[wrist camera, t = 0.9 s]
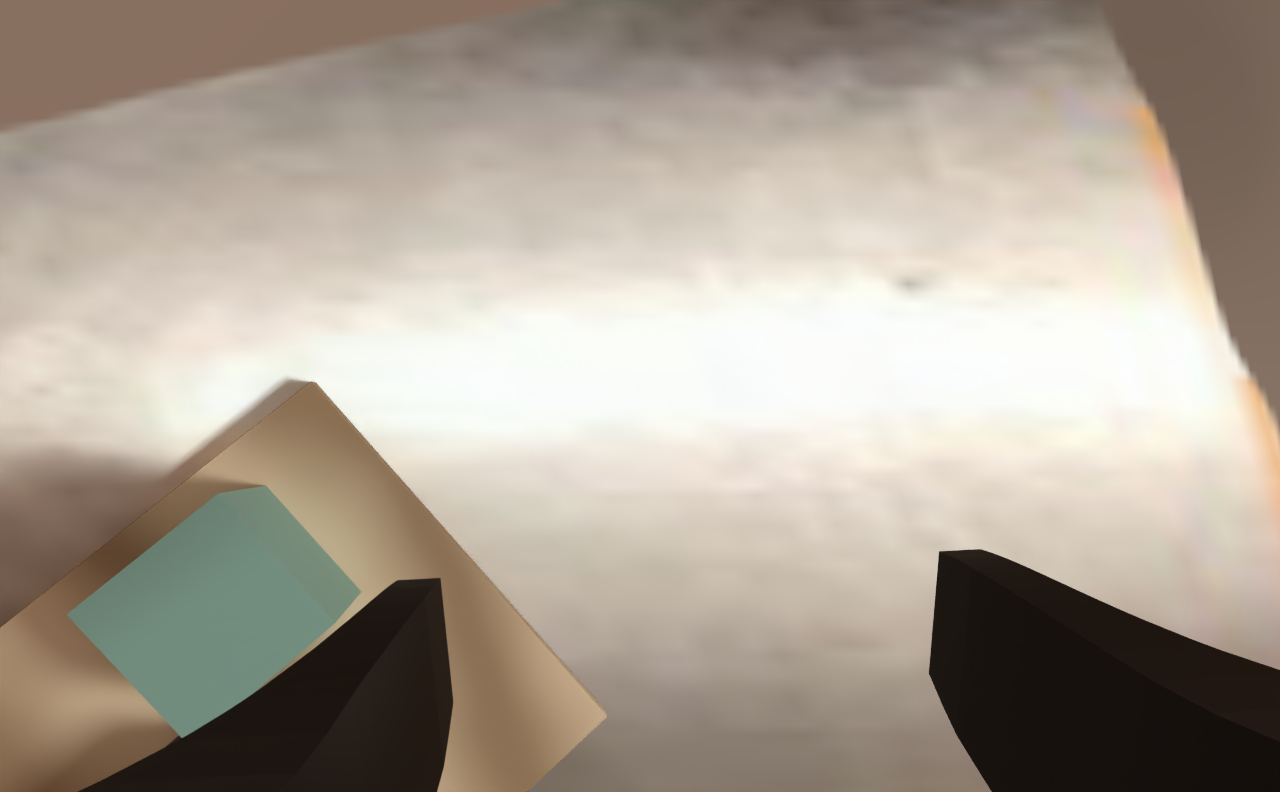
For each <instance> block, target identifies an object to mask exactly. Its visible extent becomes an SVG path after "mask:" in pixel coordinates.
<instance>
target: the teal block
mask: <svg viewBox="0 0 1280 792" xmlns="http://www.w3.org/2000/svg"><path fill="white" fill-rule="evenodd" d="M360 593H361V591H360V590H359V588H358V587H357V586H356V585H355V584H354V583H353V582H352V581H351V580H350V578H349V577H348V576H347V575H346V574H345V573H344V572H343V571H342V570H341V568H340V567H339V566H338V565H337V564H336V563H335V562H334V561H333V559H332V558H331V557H330V556H329V555H328V554H327V553H326V552H325V551H324V549H323V548H322V547H321V546H320V545H319V544H318V543H317V542H316V541H315V539H314V538H313V537H312V536H311V535H310V534H309V533H308V532H307V531H306V529H305V528H304V527H303V526H302V525H301V524H300V523H299V522H298V520H297V519H296V518H295V517H294V516H293V515H292V514H291V513H290V512H289V510H288V509H287V508H286V507H285V506H284V505H283V504H282V503H281V502H280V500H279V499H278V498H277V497H276V496H275V495H274V494H273V493H272V492H271V490H270V489H269V488H268V487H267V486H261V487H255V488H249V489H243V490H237V491H231V492H225V493H219V494H217V495H216V496H214V497H213V498H212V499H211V500H209V501H208V502H207V503H205V504H204V505H203V506H202V507H200V508H199V509H198V510H197V511H195V512H194V513H193V514H192V515H190V516H189V517H188V518H187V519H185V520H184V521H183V522H182V523H180V524H179V525H178V526H177V527H175V528H174V529H173V530H172V531H170V532H169V533H168V534H167V535H165V536H164V537H163V538H162V539H160V540H159V541H158V542H157V543H155V544H154V545H153V546H152V547H150V548H149V549H148V550H147V551H145V552H144V553H143V554H142V555H140V556H139V557H138V558H137V559H135V560H134V561H133V562H132V563H130V564H129V565H128V566H127V567H125V568H124V569H123V570H122V571H120V572H119V573H118V574H117V575H115V576H114V577H113V578H112V579H110V580H109V581H108V582H107V583H105V584H104V585H103V586H102V587H100V588H99V589H98V590H97V591H95V592H94V593H93V594H92V595H90V596H89V597H88V598H87V599H85V600H84V601H83V602H82V603H80V604H79V605H78V606H76V607H75V608H74V609H73V610H71V611H70V612H69V613H68V614H66V615H67V616H68V617H69V618H70V619H71V620H72V621H73V622H74V623H75V624H76V625H77V626H78V628H79V629H80V630H81V631H82V632H83V633H84V634H85V635H86V636H87V637H88V638H89V639H90V640H91V641H92V643H93V644H94V645H95V646H96V647H97V648H98V649H99V650H100V651H101V652H102V653H103V654H104V655H105V656H106V657H107V659H108V660H109V661H110V662H111V663H112V664H113V665H114V666H115V667H116V668H117V669H118V670H119V671H120V672H121V674H122V675H123V676H124V677H125V678H126V679H127V680H128V681H129V682H130V683H131V684H132V685H133V686H134V687H135V689H136V690H137V691H138V692H139V693H140V694H141V695H142V696H143V697H144V698H145V699H146V700H147V701H148V702H149V704H150V705H151V706H152V707H153V708H154V709H155V710H156V711H157V712H158V713H159V714H160V715H161V716H162V717H163V718H164V720H165V721H166V722H167V723H168V724H169V725H170V726H171V727H172V728H173V729H174V730H175V731H176V732H177V733H178V735H179V736H180V737H181V738H183V737H185V736H187V735H188V734H190V733H192V732H193V731H195V730H197V729H198V728H200V727H202V726H203V725H205V724H206V723H208V722H210V721H211V720H213V719H215V718H216V717H218V716H220V715H221V714H223V713H224V712H226V711H228V710H229V709H231V708H232V707H234V706H235V705H237V704H238V703H240V702H241V701H243V700H244V699H246V698H247V697H249V696H250V695H252V694H253V693H254V692H255V691H257V690H258V689H259V688H260V687H261V686H262V685H264V684H265V683H266V682H267V681H268V680H269V679H271V678H272V677H273V676H274V675H275V674H276V673H278V672H279V671H280V670H281V669H282V668H283V667H285V666H286V665H287V664H288V663H289V662H290V661H292V660H293V659H294V658H295V657H296V656H297V655H299V654H300V653H301V652H302V651H303V650H304V649H306V648H307V647H308V646H309V645H310V644H311V643H312V642H314V641H315V640H316V639H317V638H318V637H319V636H321V635H322V634H323V633H324V632H325V631H326V630H328V629H329V628H330V627H331V626H332V625H333V624H335V623H336V621H337V620H338V619H339V618H340V617H341V616H342V614H343V613H344V612H345V611H346V610H347V608H348V607H349V606H350V605H351V604H352V603H353V601H354V600H355V599H356V598H357V597H358V596H359V594H360Z"/></svg>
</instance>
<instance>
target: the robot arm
mask: <svg viewBox="0 0 1280 792" xmlns="http://www.w3.org/2000/svg"><path fill="white" fill-rule="evenodd" d="M929 675H930V677H931V679H932V682H933V684H934V686H935V689H936V691H937V693H938V696H939V698H940V700H941V703H942V705H943V707H944V709H945V711H946V714H947V716H948V718H949V720H950V722H951V724H952V726H953V728H954V730H955V733H956V735H957V736H958V738H959V740H960V741H961V743H962V745H963V746H964V748H965V749H966V751H967V753H968V754H969V756H970V758H971V759H972V761H973V762H974V764H975V766H976V767H977V769H978V770H979V772H980V774H981V775H982V777H983V778H984V780H985V782H986V783H987V785H988V786H989V788H990V790H991V791H992V792H1280V670H1278V669H1275V668H1272V667H1269V666H1266V665H1263V664H1260V663H1257V662H1254V661H1251V660H1248V659H1245V658H1242V657H1239V656H1236V655H1233V654H1230V653H1227V652H1224V651H1221V650H1219V649H1216V648H1213V647H1211V646H1208V645H1205V644H1202V643H1200V642H1197V641H1195V640H1192V639H1189V638H1187V637H1184V636H1182V635H1180V634H1177V633H1175V632H1172V631H1170V630H1167V629H1165V628H1162V627H1160V626H1157V625H1155V624H1152V623H1150V622H1147V621H1145V620H1143V619H1140V618H1138V617H1136V616H1133V615H1131V614H1129V613H1126V612H1124V611H1122V610H1120V609H1117V608H1115V607H1113V606H1111V605H1108V604H1106V603H1104V602H1102V601H1099V600H1097V599H1095V598H1093V597H1091V596H1088V595H1086V594H1084V593H1082V592H1080V591H1077V590H1075V589H1073V588H1071V587H1069V586H1067V585H1064V584H1062V583H1060V582H1058V581H1056V580H1054V579H1051V578H1049V577H1047V576H1045V575H1043V574H1041V573H1038V572H1036V571H1034V570H1032V569H1030V568H1027V567H1025V566H1023V565H1020V564H1018V563H1016V562H1013V561H1011V560H1009V559H1006V558H1004V557H1001V556H999V555H996V554H993V553H990V552H987V551H984V550H981V549H977V550H959V551H940V552H939V561H938V573H937V584H936V596H935V608H934V620H933V632H932V644H931V656H930V667H929ZM452 709H453V693H452V683H451V674H450V664H449V654H448V645H447V635H446V625H445V616H444V606H443V597H442V587H441V578H428V579H409V580H397V581H395V582H394V583H392V584H391V585H390V586H388V587H387V588H386V589H385V590H383V591H382V592H381V593H380V594H379V595H377V596H376V597H375V598H374V599H373V600H371V601H370V602H369V603H368V604H367V605H366V606H364V607H363V608H362V609H361V610H360V611H358V612H357V613H356V614H355V615H354V616H353V617H351V618H350V619H349V620H348V621H347V622H345V623H344V624H343V625H342V626H341V627H339V628H338V629H337V630H336V631H335V632H333V633H332V634H331V635H330V636H328V637H327V638H326V639H325V640H324V641H322V642H321V643H320V644H319V645H318V646H316V647H315V648H314V649H313V650H311V651H310V652H309V653H307V654H306V655H305V656H303V657H302V658H301V659H299V660H298V661H297V662H295V663H294V664H293V665H291V666H290V667H289V668H287V669H286V670H285V671H283V672H282V673H281V674H279V675H278V676H277V677H275V678H274V679H272V680H271V681H270V682H268V683H267V684H266V685H264V686H263V687H262V688H260V689H259V690H258V691H256V692H255V693H253V694H252V695H250V696H249V697H247V698H246V699H244V700H243V701H241V702H240V703H238V704H237V705H235V706H234V707H232V708H231V709H229V710H228V711H226V712H224V713H223V714H221V715H220V716H218V717H216V718H215V719H213V720H211V721H210V722H208V723H206V724H205V725H203V726H202V727H200V728H198V729H197V730H195V731H193V732H192V733H190V734H188V735H187V736H185V737H183V738H181V739H180V740H178V741H176V742H174V743H172V744H170V745H168V746H166V747H165V748H163V749H161V750H159V751H157V752H155V753H153V754H151V755H149V756H147V757H145V758H143V759H142V760H140V761H138V762H136V763H134V764H132V765H130V766H128V767H126V768H124V769H122V770H120V771H119V772H117V773H115V774H113V775H111V776H109V777H107V778H105V779H103V780H101V781H99V782H97V783H95V784H93V785H91V786H88V787H86V788H84V789H82V790H80V791H77V792H437V790H438V787H439V783H440V780H441V776H442V772H443V768H444V763H445V757H446V750H447V744H448V738H449V731H450V724H451V716H452Z"/></svg>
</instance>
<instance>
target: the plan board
mask: <svg viewBox="0 0 1280 792" xmlns="http://www.w3.org/2000/svg"><path fill="white" fill-rule="evenodd" d="M261 486H267V487H268V488H269V489H270V490H271V492H272V493H273V494H274V495H275V496H276V497H277V498H278V499H279V500H280V502H281V503H282V504H283V505H284V506H285V507H286V508H287V509H288V510H289V512H290V513H291V514H292V515H293V516H294V517H295V518H296V519H297V520H298V522H299V523H300V524H301V525H302V526H303V527H304V528H305V529H306V531H307V532H308V533H309V534H310V535H311V536H312V537H313V538H314V539H315V541H316V542H317V543H318V544H319V545H320V546H321V547H322V548H323V549H324V551H325V552H326V553H327V554H328V555H329V556H330V557H331V558H332V559H333V561H334V562H335V563H336V564H337V565H338V566H339V567H340V568H341V570H342V571H343V572H344V573H345V574H346V575H347V576H348V577H349V578H350V580H351V581H352V582H353V583H354V584H355V585H356V586H357V587H358V588H359V590H360V591H361V593H360V594H359V596H358V597H357V598H356V599H355V600H354V601H353V603H352V604H351V605H350V606H349V607H348V608H347V610H346V611H345V612H344V613H343V614H342V616H341V617H340V618H339V619H338V620H337V621H336V623H335V624H333V625H332V626H331V627H330V628H329V629H328V630H326V631H325V632H324V633H323V634H322V635H321V636H319V637H318V638H317V639H316V640H315V641H314V642H312V643H311V644H310V645H309V646H308V647H307V648H306V649H304V650H303V651H302V652H301V653H300V654H299V655H297V656H296V657H295V658H294V659H293V660H292V661H290V662H289V663H288V664H287V665H286V666H285V667H283V668H282V669H281V670H280V671H279V672H278V673H276V674H275V675H274V676H273V677H272V678H271V679H269V680H268V681H267V682H266V683H265V684H264V685H266V684H267V683H268V682H270V681H271V680H272V679H274V678H275V677H277V676H278V675H279V674H281V673H282V672H283V671H285V670H286V669H287V668H289V667H290V666H291V665H293V664H294V663H295V662H297V661H298V660H299V659H301V658H302V657H303V656H305V655H306V654H307V653H309V652H310V651H311V650H313V649H314V648H315V647H316V646H318V645H319V644H320V643H321V642H322V641H324V640H325V639H326V638H327V637H328V636H330V635H331V634H332V633H333V632H335V631H336V630H337V629H338V628H339V627H341V626H342V625H343V624H344V623H345V622H347V621H348V620H349V619H350V618H351V617H353V616H354V615H355V614H356V613H357V612H358V611H360V610H361V609H362V608H363V607H364V606H366V605H367V604H368V603H369V602H370V601H371V600H373V599H374V598H375V597H376V596H377V595H379V594H380V593H381V592H382V591H383V590H385V589H386V588H387V587H388V586H390V585H391V584H392V583H394V582H395V581H397V580H409V579H428V578H441V587H442V597H443V606H444V616H445V625H446V635H447V645H448V654H449V664H450V674H451V683H452V693H453V709H452V716H451V724H450V731H449V738H448V744H447V750H446V757H445V763H444V768H443V772H442V776H441V780H440V783H439V787H438V790H437V792H528V791H529V790H530V789H531V788H532V787H533V786H534V785H535V784H536V783H537V782H538V781H539V780H540V779H541V778H542V777H544V776H545V775H546V774H547V773H548V772H549V771H550V770H551V769H552V768H553V767H554V766H555V765H556V764H557V763H558V762H559V761H560V760H561V759H563V758H564V757H565V756H566V755H567V754H568V753H569V752H570V751H571V750H572V749H573V748H574V747H575V746H576V745H577V744H578V743H579V742H581V741H582V740H583V739H584V738H585V737H586V736H587V735H588V734H589V733H590V732H591V731H592V730H593V729H594V728H595V727H596V726H597V725H598V724H600V723H601V722H602V721H603V720H604V719H605V718H606V717H607V715H606V713H605V710H604V709H603V707H602V706H601V705H600V704H599V703H598V702H597V701H596V699H595V698H594V697H593V696H592V695H591V694H590V693H589V692H588V690H587V689H586V688H585V687H584V686H583V685H582V684H581V682H580V681H579V680H578V679H577V678H576V677H575V676H574V675H573V673H572V672H571V671H570V670H569V669H568V668H567V667H566V665H565V664H564V663H563V662H562V661H561V660H560V659H559V658H558V656H557V655H556V654H555V653H554V652H553V651H552V650H551V648H550V647H549V646H548V645H547V644H546V643H545V642H544V641H543V639H542V638H541V637H540V636H539V635H538V634H537V633H536V631H535V630H534V629H533V628H532V627H531V626H530V625H529V624H528V622H527V621H526V620H525V619H524V618H523V617H522V616H521V615H520V613H519V612H518V611H517V610H516V609H515V608H514V607H513V605H512V604H511V603H510V602H509V601H508V600H507V599H506V598H505V596H504V595H503V594H502V593H501V592H500V591H499V590H498V588H497V587H496V586H495V585H494V584H493V583H492V582H491V581H490V579H489V578H488V577H487V576H486V575H485V574H484V573H483V571H482V570H481V569H480V568H479V567H478V566H477V565H476V564H475V562H474V561H473V560H472V559H471V558H470V557H469V556H468V554H467V553H466V552H465V551H464V550H463V549H462V548H461V547H460V545H459V544H458V543H457V542H456V541H455V540H454V539H453V538H452V536H451V535H450V534H449V533H448V532H447V531H446V530H445V528H444V527H443V526H442V525H441V524H440V523H439V522H438V521H437V519H436V518H435V517H434V516H433V515H432V514H431V513H430V511H429V510H428V509H427V508H426V507H425V506H424V505H423V504H422V502H421V501H420V500H419V499H418V498H417V497H416V496H415V494H414V493H413V492H412V491H411V490H410V489H409V488H408V487H407V485H406V484H405V483H404V482H403V481H402V480H401V479H400V477H399V476H398V475H397V474H396V473H395V472H394V471H393V470H392V468H391V467H390V466H389V465H388V464H387V463H386V462H385V461H384V459H383V458H382V457H381V456H380V455H379V454H378V453H377V451H376V450H375V449H374V448H373V447H372V446H371V445H370V444H369V442H368V441H367V440H366V439H365V438H364V437H363V436H362V434H361V433H360V432H359V431H358V430H357V429H356V428H355V427H354V425H353V424H352V423H351V422H350V421H349V420H348V419H347V417H346V416H345V415H344V414H343V413H342V412H341V411H340V410H339V408H338V407H337V406H336V405H335V404H334V403H333V402H332V400H331V399H330V398H329V397H328V396H327V395H326V394H325V393H324V391H323V390H322V389H321V388H320V387H319V386H318V385H317V383H315V382H310V383H309V384H307V385H306V386H305V387H304V388H302V389H301V390H300V391H298V392H297V393H296V394H295V395H293V396H292V397H291V398H290V399H288V400H287V401H286V402H285V403H283V404H282V405H281V406H280V407H278V408H277V409H276V410H274V411H273V412H272V413H271V414H269V415H268V416H267V417H266V418H264V419H263V420H262V421H261V422H259V423H258V424H257V425H256V426H254V427H253V428H252V429H250V430H249V431H248V432H247V433H245V434H244V435H243V436H242V437H240V438H239V439H238V440H237V441H235V442H234V443H233V444H232V445H230V446H229V447H228V448H226V449H225V450H224V451H223V452H221V453H220V454H219V455H218V456H216V457H215V458H214V459H213V460H211V461H210V462H209V463H208V464H206V465H205V466H204V467H202V468H201V469H200V470H199V471H197V472H196V473H195V474H194V475H192V476H191V477H190V478H189V479H187V480H186V481H185V482H184V483H182V484H181V485H180V486H178V487H177V488H176V489H175V490H173V491H172V492H171V493H170V494H168V495H167V496H166V497H165V498H163V499H162V500H161V501H160V502H158V503H157V504H156V505H154V506H153V507H152V508H151V509H149V510H148V511H147V512H146V513H144V514H143V515H142V516H141V517H139V518H138V519H137V520H136V521H134V522H133V523H132V524H130V525H129V526H128V527H127V528H125V529H124V530H123V531H122V532H120V533H119V534H118V535H117V536H115V537H114V538H113V539H112V540H110V541H109V542H108V543H106V544H105V545H104V546H103V547H101V548H100V549H99V550H98V551H96V552H95V553H94V554H93V555H91V556H90V557H89V558H88V559H86V560H85V561H84V562H82V563H81V564H80V565H79V566H77V567H76V568H75V569H74V570H72V571H71V572H70V573H69V574H67V575H66V576H65V577H63V578H62V579H61V580H60V581H58V582H57V583H56V584H55V585H53V586H52V587H51V588H50V589H48V590H47V591H46V592H45V593H43V594H42V595H41V596H39V597H38V598H37V599H36V600H34V601H33V602H32V603H31V604H29V605H28V606H27V607H26V608H24V609H23V610H22V611H21V612H19V613H18V614H17V615H15V616H14V617H13V618H12V619H10V620H9V621H8V622H7V623H5V624H4V625H3V626H2V627H0V792H77V791H80V790H82V789H84V788H86V787H88V786H91V785H93V784H95V783H97V782H99V781H101V780H103V779H105V778H107V777H109V776H111V775H113V774H115V773H117V772H119V771H120V770H122V769H124V768H126V767H128V766H130V765H132V764H134V763H136V762H138V761H140V760H142V759H143V758H145V757H147V756H149V755H151V754H153V753H155V752H157V751H159V750H161V749H163V748H165V747H166V746H168V745H170V744H172V743H174V742H176V741H178V740H180V739H181V737H180V736H179V735H178V733H177V732H176V731H175V730H174V729H173V728H172V727H171V726H170V725H169V724H168V723H167V722H166V721H165V720H164V718H163V717H162V716H161V715H160V714H159V713H158V712H157V711H156V710H155V709H154V708H153V707H152V706H151V705H150V704H149V702H148V701H147V700H146V699H145V698H144V697H143V696H142V695H141V694H140V693H139V692H138V691H137V690H136V689H135V687H134V686H133V685H132V684H131V683H130V682H129V681H128V680H127V679H126V678H125V677H124V676H123V675H122V674H121V672H120V671H119V670H118V669H117V668H116V667H115V666H114V665H113V664H112V663H111V662H110V661H109V660H108V659H107V657H106V656H105V655H104V654H103V653H102V652H101V651H100V650H99V649H98V648H97V647H96V646H95V645H94V644H93V643H92V641H91V640H90V639H89V638H88V637H87V636H86V635H85V634H84V633H83V632H82V631H81V630H80V629H79V628H78V626H77V625H76V624H75V623H74V622H73V621H72V620H71V619H70V618H69V617H68V616H67V615H66V614H68V613H69V612H70V611H71V610H73V609H74V608H75V607H76V606H78V605H79V604H80V603H82V602H83V601H84V600H85V599H87V598H88V597H89V596H90V595H92V594H93V593H94V592H95V591H97V590H98V589H99V588H100V587H102V586H103V585H104V584H105V583H107V582H108V581H109V580H110V579H112V578H113V577H114V576H115V575H117V574H118V573H119V572H120V571H122V570H123V569H124V568H125V567H127V566H128V565H129V564H130V563H132V562H133V561H134V560H135V559H137V558H138V557H139V556H140V555H142V554H143V553H144V552H145V551H147V550H148V549H149V548H150V547H152V546H153V545H154V544H155V543H157V542H158V541H159V540H160V539H162V538H163V537H164V536H165V535H167V534H168V533H169V532H170V531H172V530H173V529H174V528H175V527H177V526H178V525H179V524H180V523H182V522H183V521H184V520H185V519H187V518H188V517H189V516H190V515H192V514H193V513H194V512H195V511H197V510H198V509H199V508H200V507H202V506H203V505H204V504H205V503H207V502H208V501H209V500H211V499H212V498H213V497H214V496H216V495H217V494H219V493H225V492H231V491H237V490H243V489H249V488H255V487H261ZM264 685H262V686H261V687H260V688H262V687H263V686H264ZM260 688H259V689H260ZM259 689H258V690H259ZM258 690H257V691H258ZM255 692H256V691H255ZM255 692H254V693H255Z"/></svg>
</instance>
